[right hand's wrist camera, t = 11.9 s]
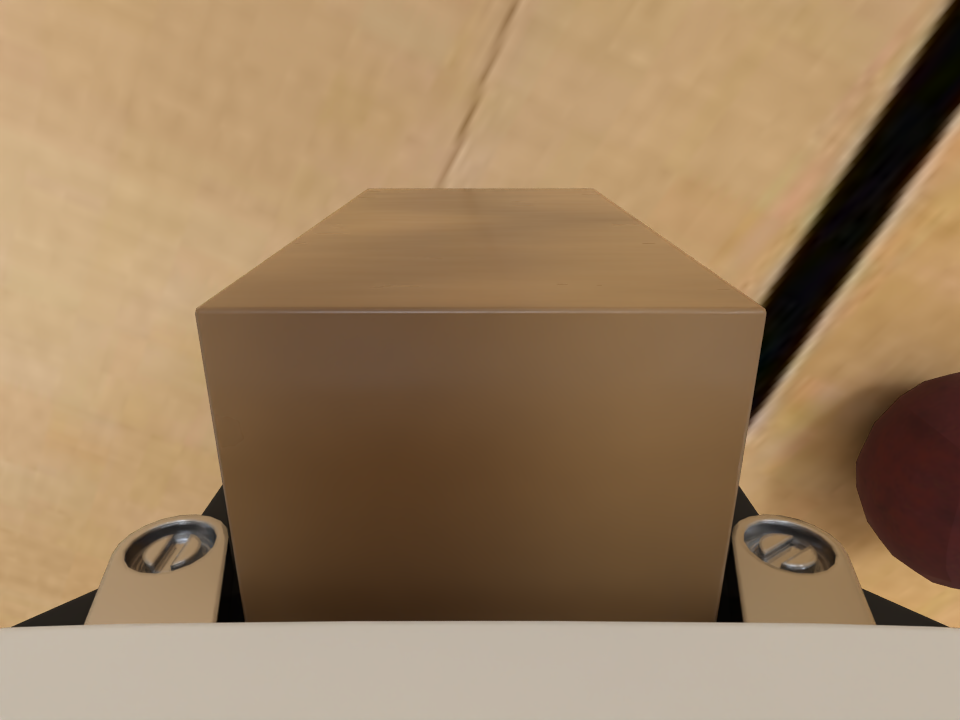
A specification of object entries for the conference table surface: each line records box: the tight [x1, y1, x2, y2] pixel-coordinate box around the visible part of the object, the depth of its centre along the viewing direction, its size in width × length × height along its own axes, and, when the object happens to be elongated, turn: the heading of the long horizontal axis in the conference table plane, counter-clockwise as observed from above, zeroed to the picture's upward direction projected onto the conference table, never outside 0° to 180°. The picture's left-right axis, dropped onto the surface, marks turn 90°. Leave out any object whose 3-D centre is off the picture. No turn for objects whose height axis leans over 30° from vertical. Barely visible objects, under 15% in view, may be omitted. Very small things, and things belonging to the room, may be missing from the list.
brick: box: [195, 189, 766, 622], centre depth 11 cm, size 5×9×9 cm, turn 0°
